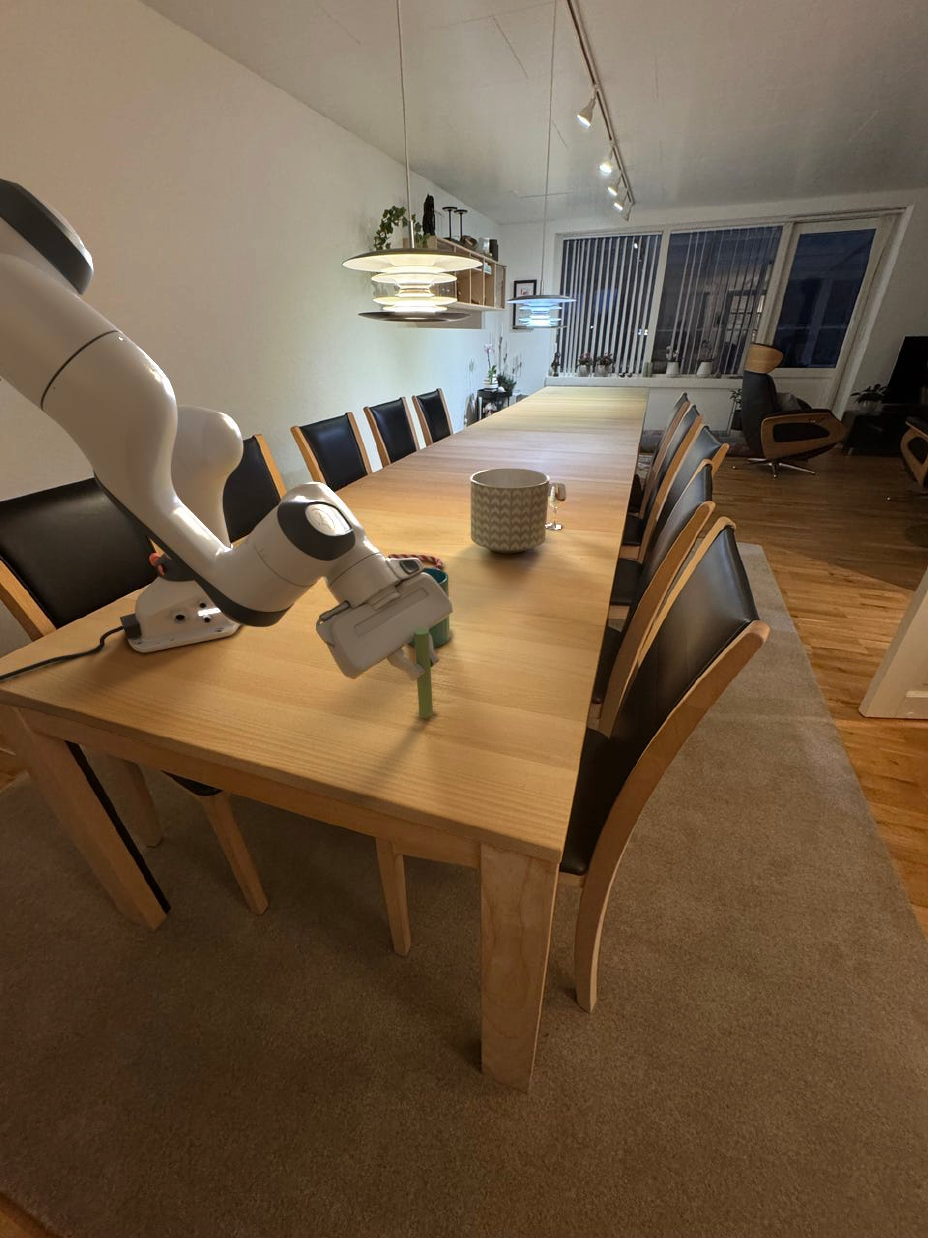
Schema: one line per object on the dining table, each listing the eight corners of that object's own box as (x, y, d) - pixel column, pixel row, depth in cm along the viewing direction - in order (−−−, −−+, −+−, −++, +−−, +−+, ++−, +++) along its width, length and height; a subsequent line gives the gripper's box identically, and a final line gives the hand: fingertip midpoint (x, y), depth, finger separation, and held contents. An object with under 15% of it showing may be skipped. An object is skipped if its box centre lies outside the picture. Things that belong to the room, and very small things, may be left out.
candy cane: (394, 549, 129) (448, 557, 124) (395, 554, 130) (448, 562, 125) (378, 560, 123) (434, 570, 118) (378, 565, 124) (434, 575, 118)
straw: (423, 719, 74) (418, 636, 67) (416, 712, 75) (410, 629, 68) (435, 714, 75) (431, 631, 68) (428, 707, 76) (423, 625, 69)
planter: (481, 532, 143) (482, 466, 135) (549, 538, 139) (554, 470, 130) (461, 557, 128) (460, 484, 119) (537, 565, 123) (542, 490, 114)
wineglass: (557, 522, 150) (561, 481, 144) (567, 528, 146) (571, 486, 140) (539, 524, 149) (542, 483, 143) (548, 531, 144) (552, 488, 138)
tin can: (420, 653, 90) (416, 591, 84) (398, 634, 95) (393, 574, 90) (458, 639, 94) (457, 579, 88) (434, 621, 99) (432, 564, 94)
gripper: (318, 608, 61) (386, 703, 61) (425, 554, 76) (480, 630, 76) (300, 630, 66) (363, 718, 66) (404, 575, 80) (456, 647, 80)
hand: (427, 670), depth 71 cm, fingers closed on straw, 2 cm apart
